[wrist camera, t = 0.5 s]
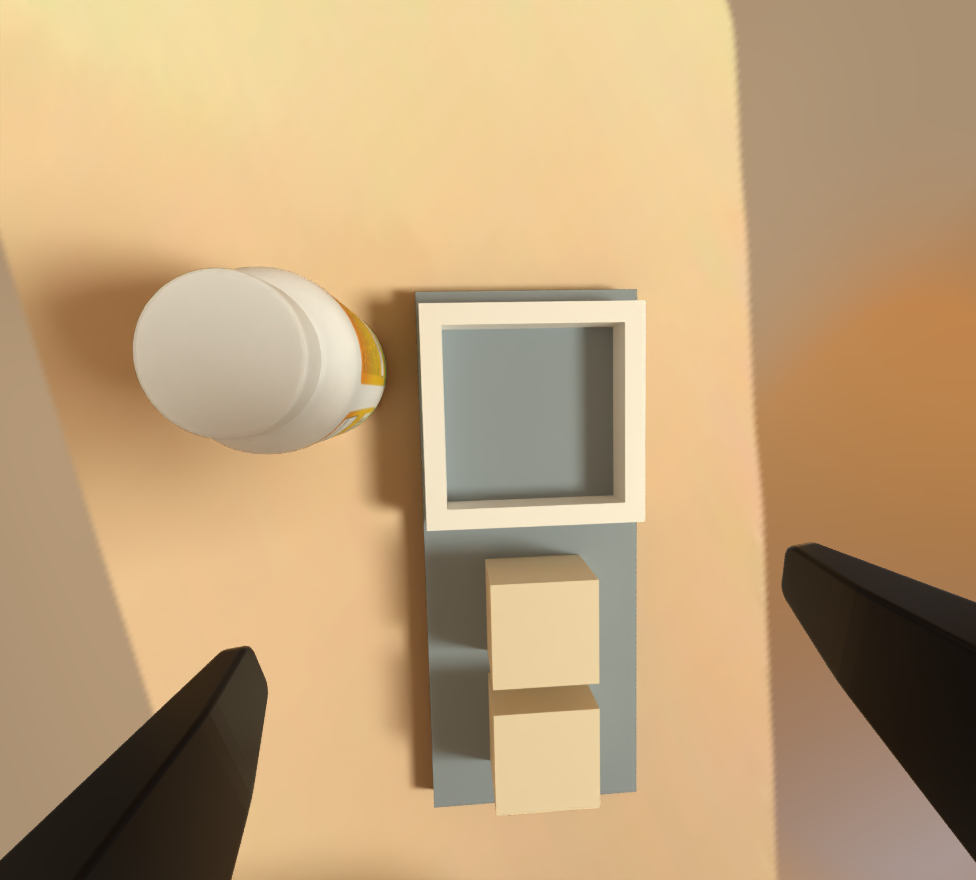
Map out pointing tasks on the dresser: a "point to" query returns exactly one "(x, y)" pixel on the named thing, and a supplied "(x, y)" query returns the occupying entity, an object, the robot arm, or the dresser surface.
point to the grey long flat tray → (532, 542)
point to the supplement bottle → (257, 359)
